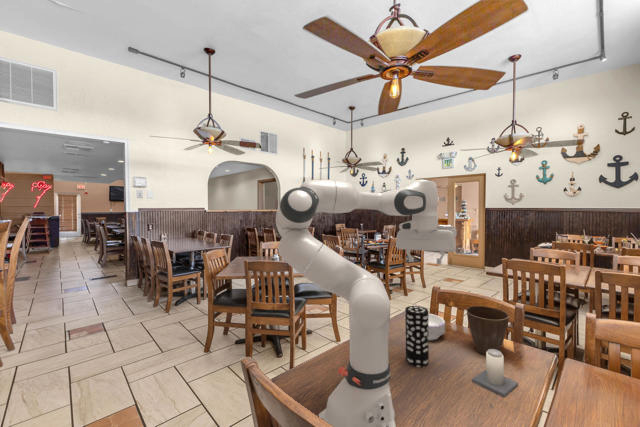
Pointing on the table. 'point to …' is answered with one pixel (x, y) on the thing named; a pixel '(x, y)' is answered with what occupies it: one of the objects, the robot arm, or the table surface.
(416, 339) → the spotted tube
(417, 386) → the table surface
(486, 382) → the plate
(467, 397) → the table surface
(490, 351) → the shaker
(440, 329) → the paper bowls
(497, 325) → the plant pot
